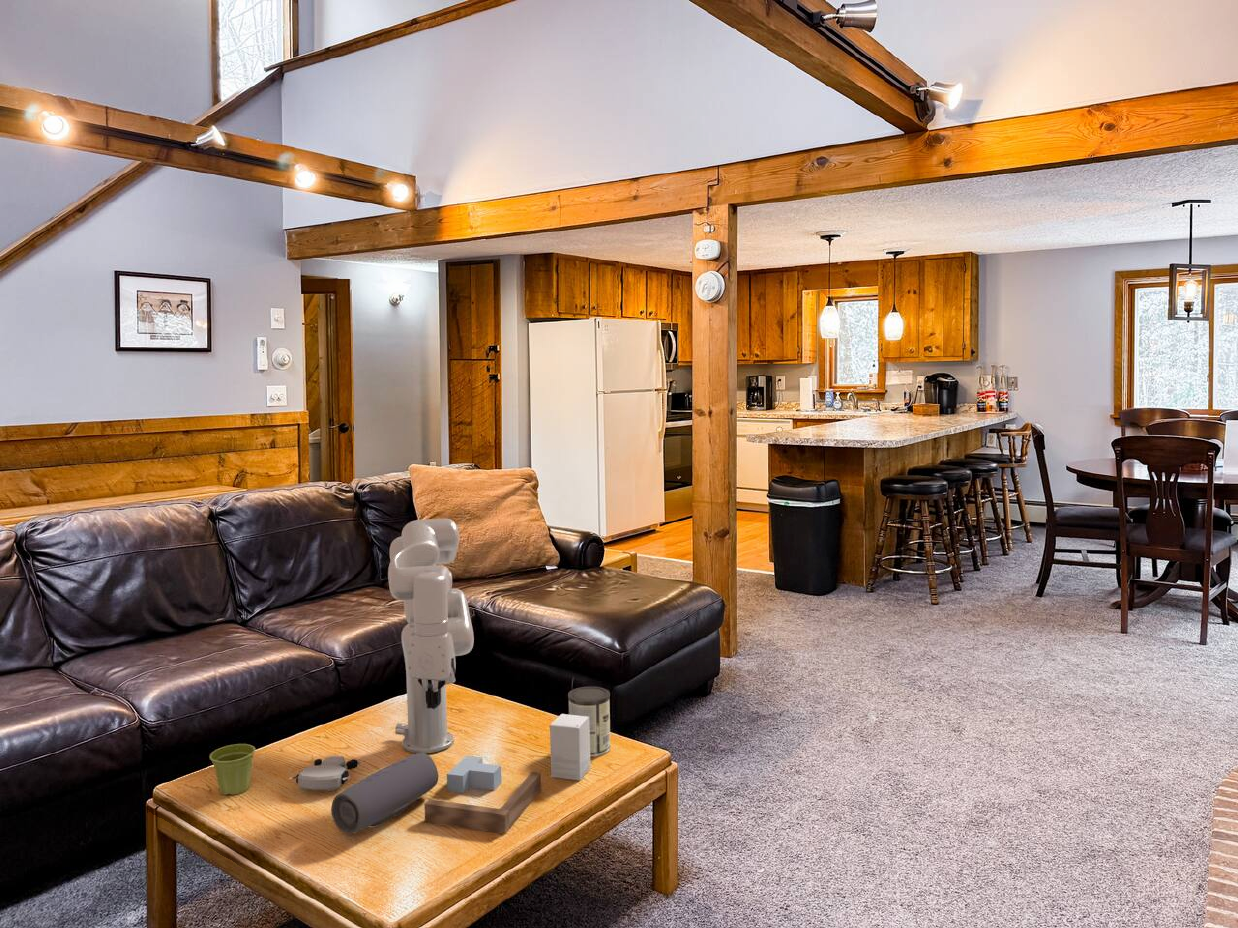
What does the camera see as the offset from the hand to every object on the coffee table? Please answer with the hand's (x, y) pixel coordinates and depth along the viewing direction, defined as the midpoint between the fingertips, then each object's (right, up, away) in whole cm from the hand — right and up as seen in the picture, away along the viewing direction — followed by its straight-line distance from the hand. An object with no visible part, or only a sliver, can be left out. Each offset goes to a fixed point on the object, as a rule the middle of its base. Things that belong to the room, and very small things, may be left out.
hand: (433, 706), depth 206 cm
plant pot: (-44, -18, -3) cm, 48 cm away
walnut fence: (+14, -18, -12) cm, 26 cm away
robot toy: (-24, -18, +1) cm, 30 cm away
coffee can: (+35, -15, +18) cm, 42 cm away
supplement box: (+31, -17, +4) cm, 36 cm away
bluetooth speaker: (-7, -19, -15) cm, 25 cm away
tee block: (+9, -17, -1) cm, 20 cm away
